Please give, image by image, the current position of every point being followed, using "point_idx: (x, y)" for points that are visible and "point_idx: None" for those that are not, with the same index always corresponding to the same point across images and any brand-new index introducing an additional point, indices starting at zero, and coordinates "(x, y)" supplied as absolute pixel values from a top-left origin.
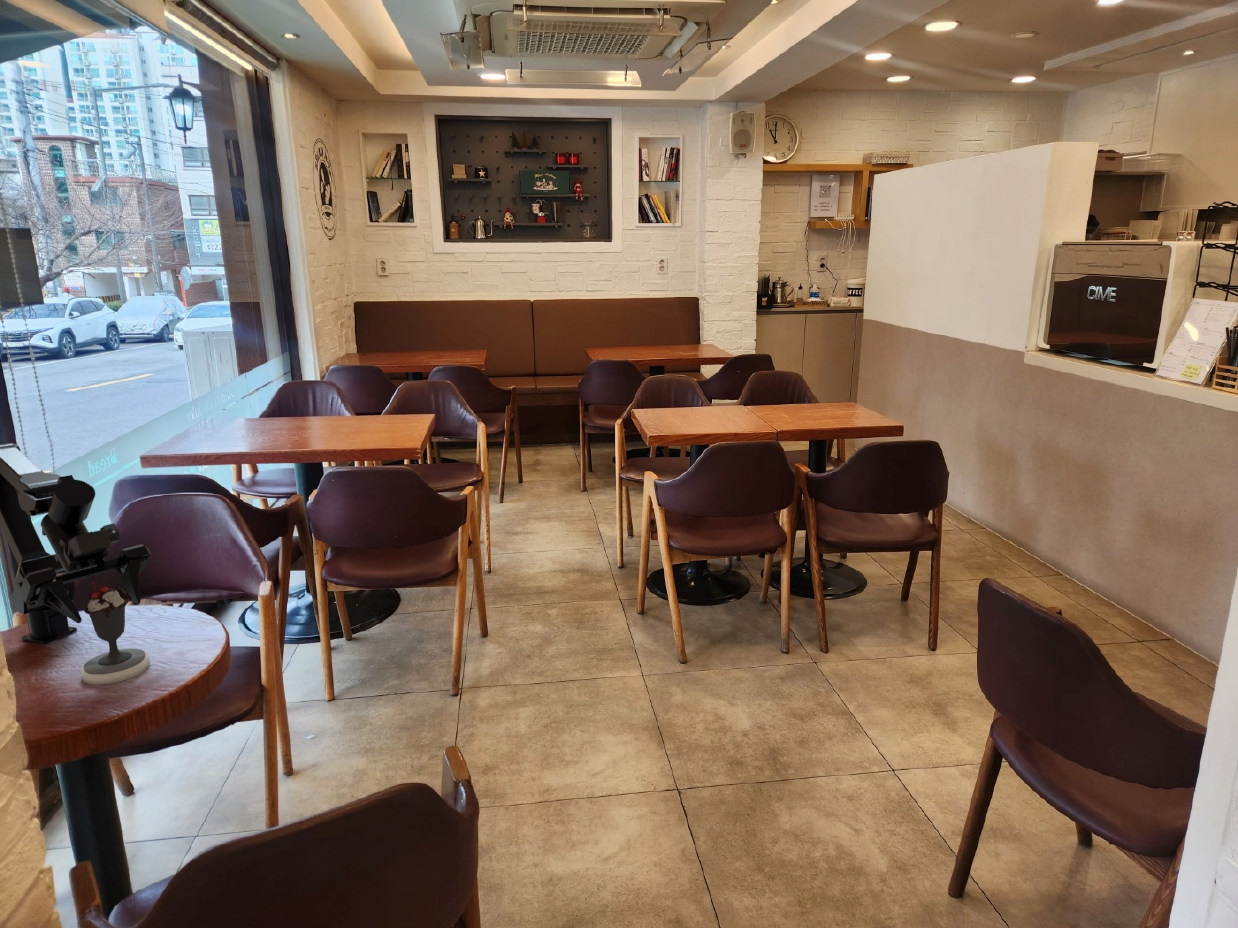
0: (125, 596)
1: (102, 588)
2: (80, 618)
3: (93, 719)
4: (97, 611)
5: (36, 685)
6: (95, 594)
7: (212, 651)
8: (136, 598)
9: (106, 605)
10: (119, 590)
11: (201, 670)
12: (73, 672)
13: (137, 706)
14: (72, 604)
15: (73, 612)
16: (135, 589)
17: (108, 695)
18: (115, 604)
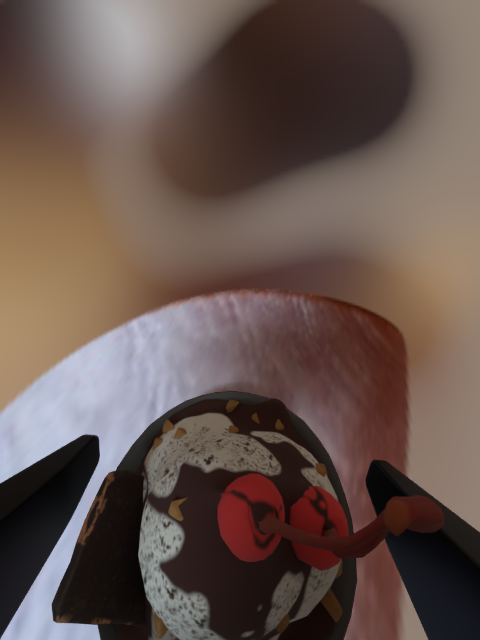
0: (125, 471)
1: (273, 512)
2: (380, 463)
3: (334, 315)
4: (308, 443)
5: (376, 604)
6: (330, 503)
7: (74, 364)
8: (82, 453)
9: (265, 435)
10: (95, 569)
11: (154, 312)
12: None
13: (279, 296)
14: (473, 550)
15: (433, 499)
16: (20, 491)
17: (289, 369)
18: (222, 421)
